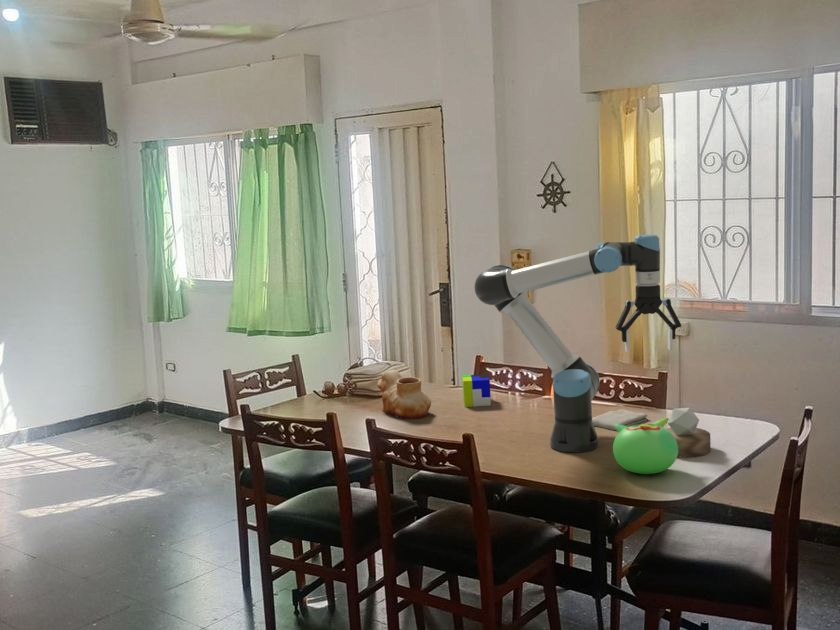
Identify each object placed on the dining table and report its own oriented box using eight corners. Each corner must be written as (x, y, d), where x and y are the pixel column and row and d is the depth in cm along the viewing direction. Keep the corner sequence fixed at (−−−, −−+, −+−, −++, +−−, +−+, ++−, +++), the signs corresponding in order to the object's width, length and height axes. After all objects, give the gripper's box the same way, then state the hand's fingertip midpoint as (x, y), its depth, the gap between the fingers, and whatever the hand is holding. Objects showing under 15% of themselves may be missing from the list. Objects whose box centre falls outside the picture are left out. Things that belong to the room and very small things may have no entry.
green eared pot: (615, 481, 253) (613, 430, 251) (612, 462, 270) (610, 414, 268) (681, 481, 251) (680, 429, 248) (674, 461, 267) (673, 413, 265)
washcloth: (649, 420, 312) (649, 412, 312) (616, 432, 301) (616, 423, 300) (621, 415, 321) (620, 406, 321) (588, 426, 310) (588, 417, 309)
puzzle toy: (491, 405, 344) (489, 379, 343) (464, 407, 345) (463, 381, 343) (489, 399, 354) (488, 373, 353) (463, 400, 354) (462, 375, 353)
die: (694, 441, 271) (707, 412, 273) (667, 428, 271) (680, 399, 273) (685, 443, 279) (698, 415, 281) (660, 430, 279) (672, 402, 281)
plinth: (668, 459, 270) (668, 443, 269) (652, 444, 284) (652, 429, 284) (718, 455, 270) (718, 438, 270) (699, 440, 285) (699, 425, 284)
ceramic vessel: (401, 402, 358) (398, 365, 355) (439, 414, 336) (437, 375, 334) (370, 409, 350) (368, 371, 348) (408, 422, 329) (405, 381, 326)
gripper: (610, 288, 282) (611, 355, 285) (691, 283, 282) (691, 350, 285) (605, 284, 289) (606, 350, 293) (683, 280, 289) (684, 346, 293)
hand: (648, 350), depth 289 cm, fingers open, 13 cm apart
